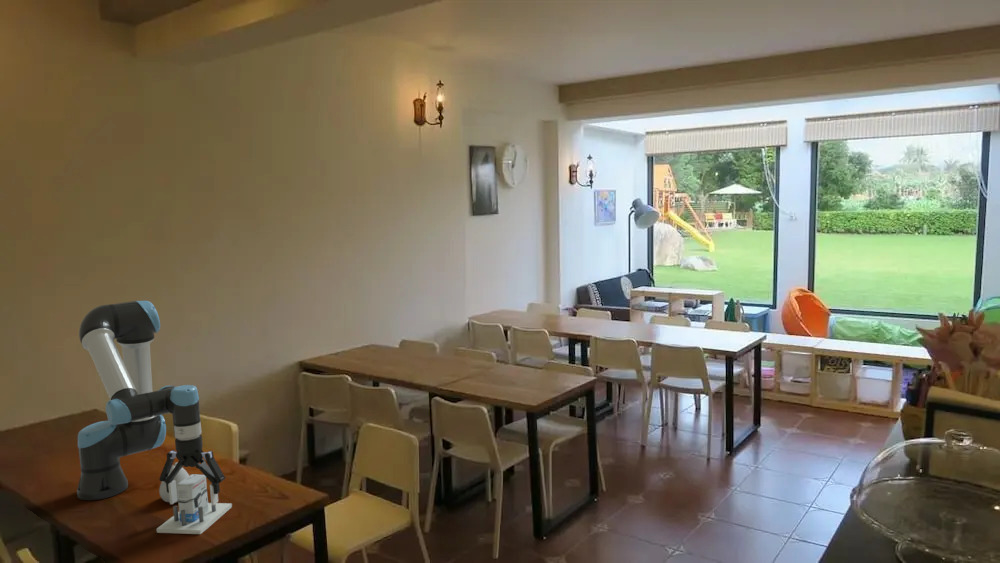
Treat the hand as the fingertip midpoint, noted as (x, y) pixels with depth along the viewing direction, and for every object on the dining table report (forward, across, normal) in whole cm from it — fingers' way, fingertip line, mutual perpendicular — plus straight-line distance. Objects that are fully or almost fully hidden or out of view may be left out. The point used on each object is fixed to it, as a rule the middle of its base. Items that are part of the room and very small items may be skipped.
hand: (194, 503), depth 214 cm
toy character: (+6, -15, +14) cm, 21 cm away
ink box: (+4, 0, 0) cm, 4 cm away
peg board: (+5, 0, 0) cm, 5 cm away
